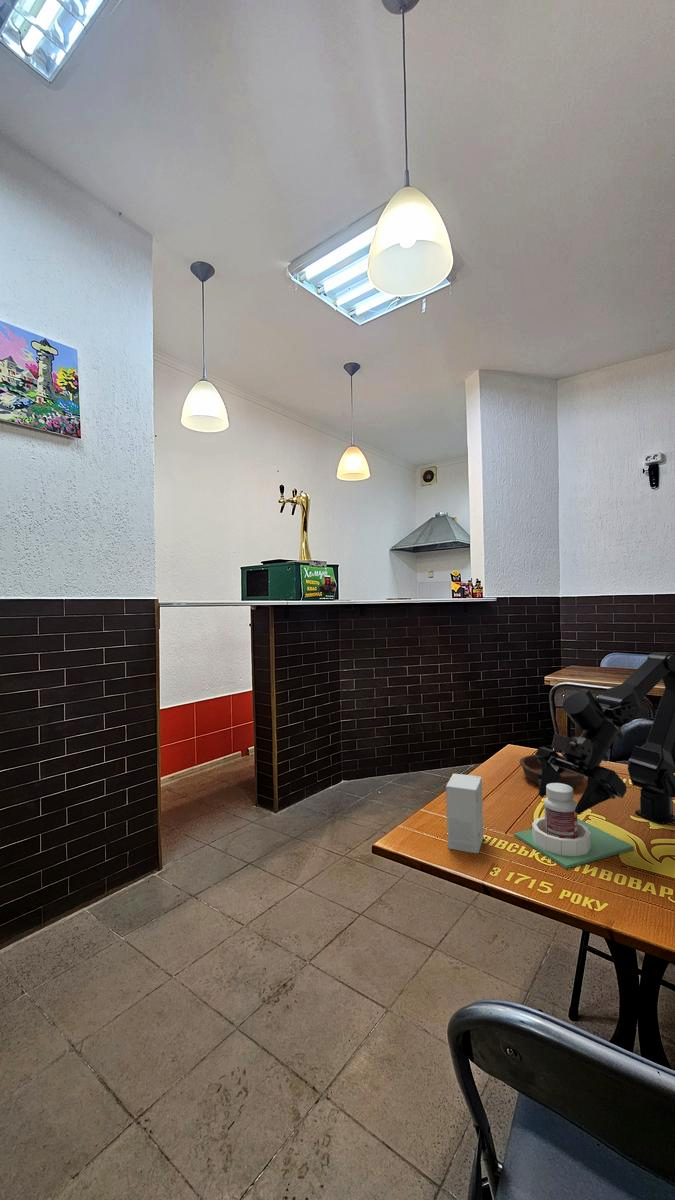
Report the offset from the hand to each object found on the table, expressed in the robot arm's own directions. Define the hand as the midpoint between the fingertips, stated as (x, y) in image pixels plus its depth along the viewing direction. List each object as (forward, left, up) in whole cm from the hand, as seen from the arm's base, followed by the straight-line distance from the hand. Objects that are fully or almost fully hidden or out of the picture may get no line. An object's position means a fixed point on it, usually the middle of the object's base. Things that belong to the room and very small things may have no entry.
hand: (557, 804), depth 100 cm
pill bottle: (-1, 0, -8) cm, 8 cm away
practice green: (-4, 0, -9) cm, 9 cm away
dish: (-27, -28, -9) cm, 40 cm away
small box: (+16, -9, -9) cm, 21 cm away
